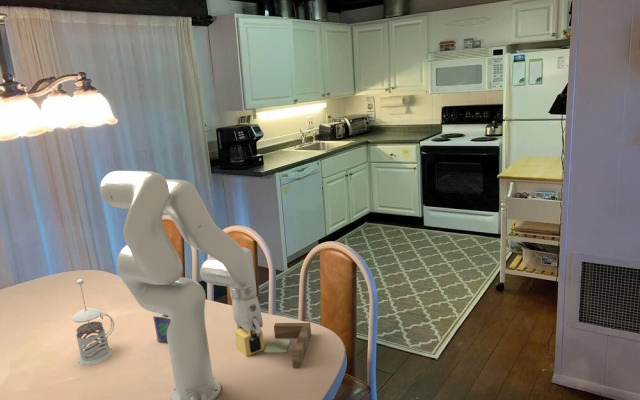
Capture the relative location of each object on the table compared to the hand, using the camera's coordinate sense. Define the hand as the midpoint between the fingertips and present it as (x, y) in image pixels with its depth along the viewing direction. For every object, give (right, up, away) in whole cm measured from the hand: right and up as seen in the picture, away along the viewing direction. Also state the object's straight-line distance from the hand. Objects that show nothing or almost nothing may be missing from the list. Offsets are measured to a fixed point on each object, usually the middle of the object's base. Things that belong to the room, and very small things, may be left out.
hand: (250, 345), depth 145 cm
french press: (-47, -4, +4) cm, 47 cm away
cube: (0, -1, 0) cm, 1 cm away
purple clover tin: (-26, -1, +8) cm, 28 cm away
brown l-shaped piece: (+11, -1, -2) cm, 11 cm away
